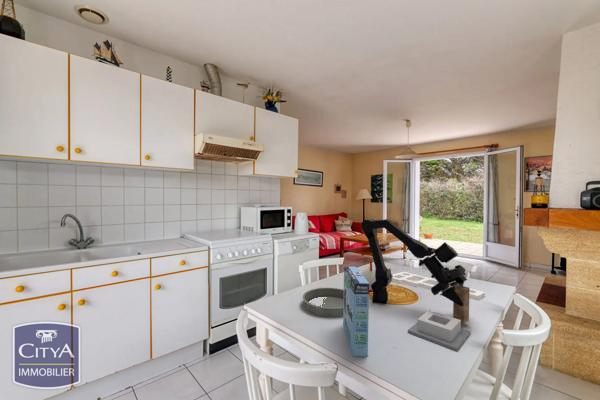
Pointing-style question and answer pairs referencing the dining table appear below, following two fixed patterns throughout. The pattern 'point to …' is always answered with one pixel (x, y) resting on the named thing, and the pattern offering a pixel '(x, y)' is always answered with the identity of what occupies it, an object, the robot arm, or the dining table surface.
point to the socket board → (442, 342)
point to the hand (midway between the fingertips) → (465, 304)
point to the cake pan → (326, 301)
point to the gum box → (356, 311)
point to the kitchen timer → (369, 275)
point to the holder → (423, 282)
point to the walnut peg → (463, 311)
